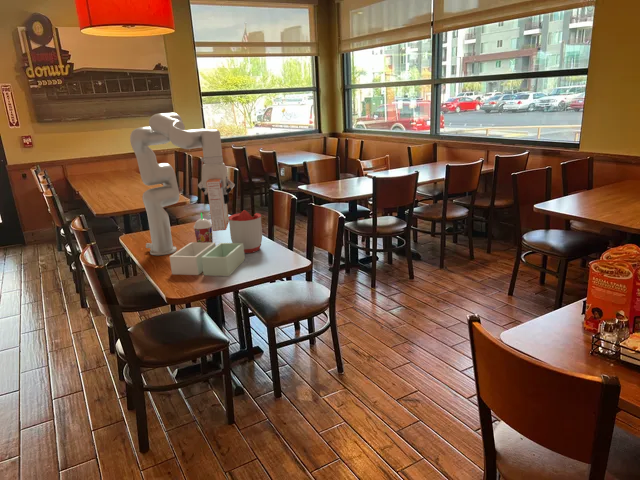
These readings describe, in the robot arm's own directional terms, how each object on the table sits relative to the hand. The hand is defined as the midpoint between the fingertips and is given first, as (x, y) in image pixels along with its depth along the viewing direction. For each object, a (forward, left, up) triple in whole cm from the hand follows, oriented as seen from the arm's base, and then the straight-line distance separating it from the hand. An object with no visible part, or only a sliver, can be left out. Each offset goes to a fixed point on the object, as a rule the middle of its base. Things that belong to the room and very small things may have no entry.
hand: (218, 202), depth 196 cm
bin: (0, 0, -29) cm, 29 cm away
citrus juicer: (+2, +25, -29) cm, 38 cm away
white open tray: (-14, 0, -29) cm, 32 cm away
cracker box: (0, 0, -11) cm, 11 cm away
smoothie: (-17, +18, -29) cm, 38 cm away
